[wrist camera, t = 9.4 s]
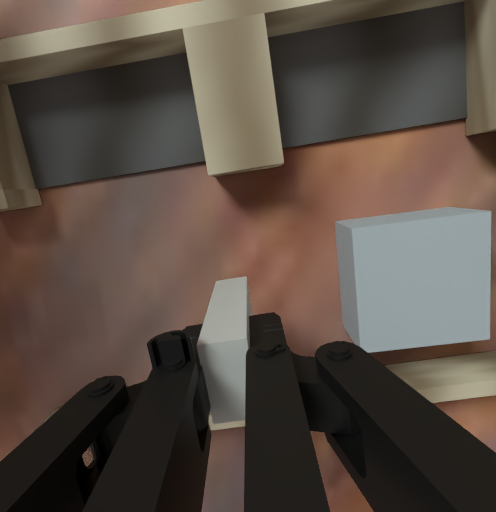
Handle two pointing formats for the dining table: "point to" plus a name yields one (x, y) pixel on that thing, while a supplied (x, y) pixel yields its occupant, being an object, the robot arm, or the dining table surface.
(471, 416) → the dining table surface
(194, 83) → the box
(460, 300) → the block
